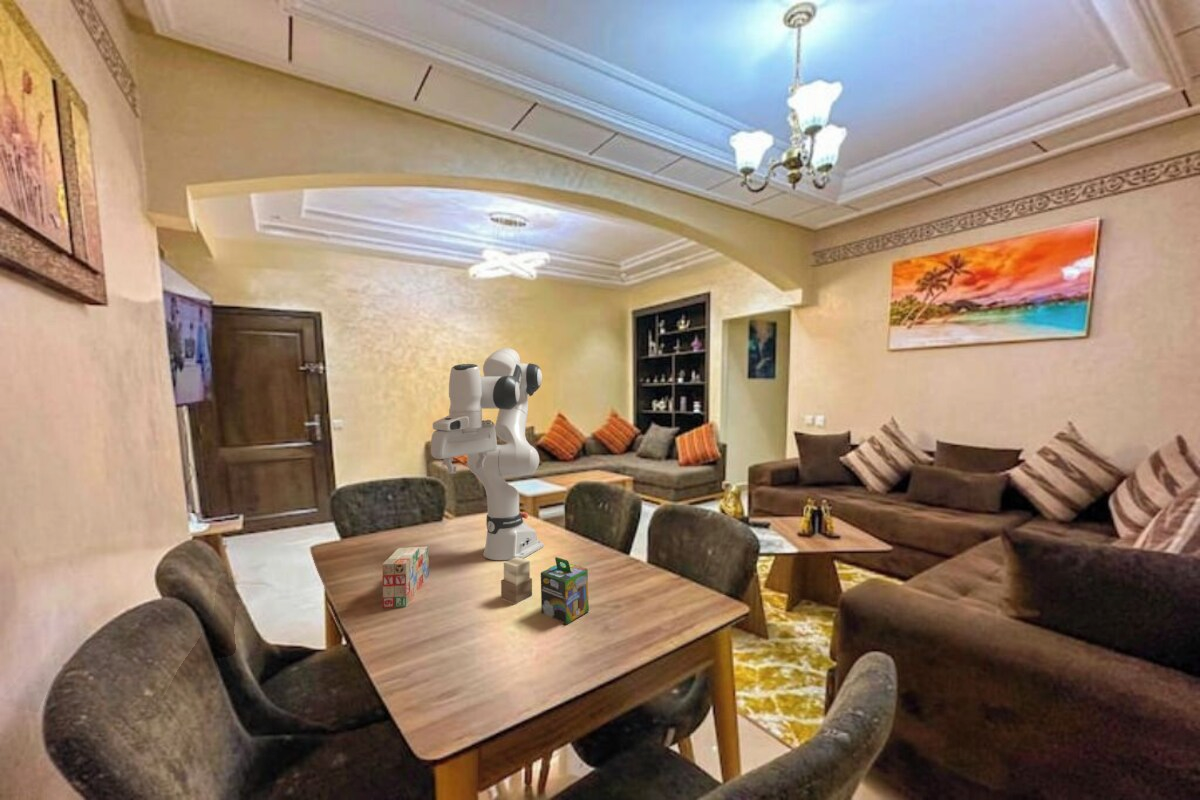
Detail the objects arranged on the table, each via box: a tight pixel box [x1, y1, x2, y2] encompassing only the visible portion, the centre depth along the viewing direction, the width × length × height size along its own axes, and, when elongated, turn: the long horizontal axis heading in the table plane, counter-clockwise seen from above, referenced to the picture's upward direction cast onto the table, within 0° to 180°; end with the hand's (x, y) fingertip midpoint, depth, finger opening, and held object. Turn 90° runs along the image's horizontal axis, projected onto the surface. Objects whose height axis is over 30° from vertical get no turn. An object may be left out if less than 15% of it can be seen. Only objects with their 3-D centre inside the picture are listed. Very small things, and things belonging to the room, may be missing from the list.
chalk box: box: [540, 556, 590, 626], centre depth 119 cm, size 9×9×15 cm
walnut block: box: [500, 577, 533, 605], centre depth 127 cm, size 6×6×5 cm
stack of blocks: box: [381, 546, 430, 609], centre depth 133 cm, size 21×6×12 cm, turn 5°
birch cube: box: [503, 557, 531, 585], centre depth 127 cm, size 5×5×5 cm
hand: (466, 470), depth 128 cm, fingers open, 8 cm apart
